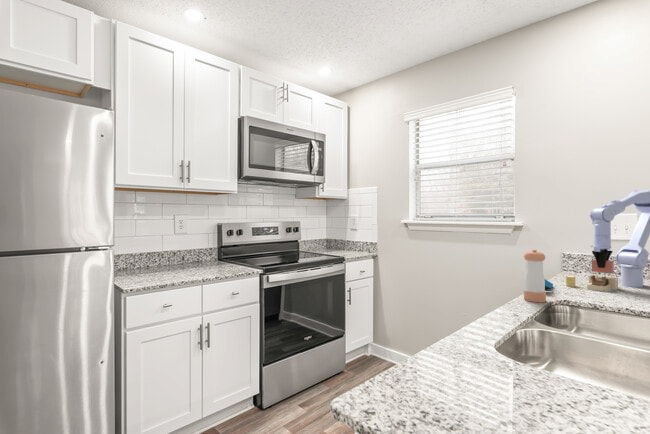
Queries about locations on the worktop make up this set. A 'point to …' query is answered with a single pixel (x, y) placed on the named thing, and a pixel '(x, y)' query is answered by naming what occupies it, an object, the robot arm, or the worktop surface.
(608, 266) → the pink flat block
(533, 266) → the salt shaker
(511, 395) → the worktop surface
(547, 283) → the lever
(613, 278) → the jig
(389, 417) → the worktop surface
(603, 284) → the brown curved piece
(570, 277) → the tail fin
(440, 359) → the worktop surface
